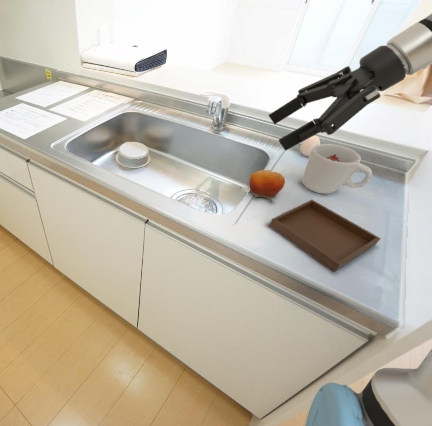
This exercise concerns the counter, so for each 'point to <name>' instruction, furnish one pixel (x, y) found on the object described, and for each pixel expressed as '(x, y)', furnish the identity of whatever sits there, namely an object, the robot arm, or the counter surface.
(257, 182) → the fruit
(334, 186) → the cup
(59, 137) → the counter surface
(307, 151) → the egg
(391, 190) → the counter surface
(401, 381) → the robot arm
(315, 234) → the tray
